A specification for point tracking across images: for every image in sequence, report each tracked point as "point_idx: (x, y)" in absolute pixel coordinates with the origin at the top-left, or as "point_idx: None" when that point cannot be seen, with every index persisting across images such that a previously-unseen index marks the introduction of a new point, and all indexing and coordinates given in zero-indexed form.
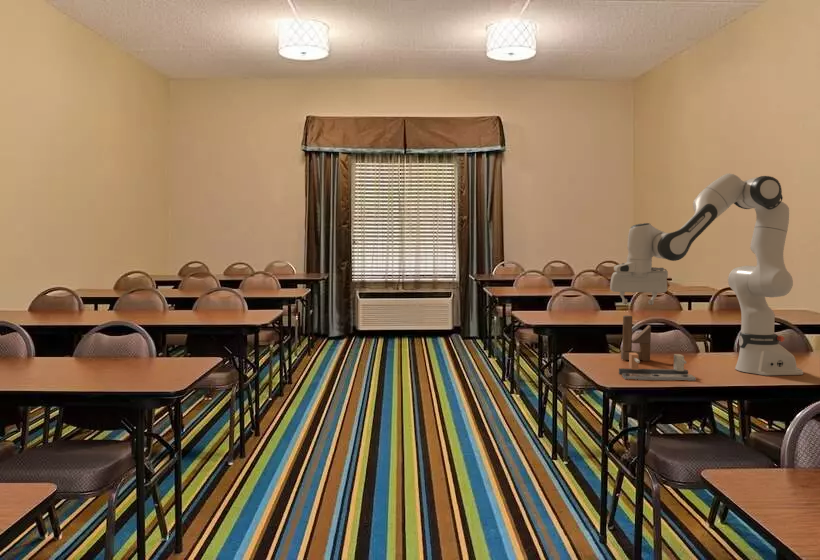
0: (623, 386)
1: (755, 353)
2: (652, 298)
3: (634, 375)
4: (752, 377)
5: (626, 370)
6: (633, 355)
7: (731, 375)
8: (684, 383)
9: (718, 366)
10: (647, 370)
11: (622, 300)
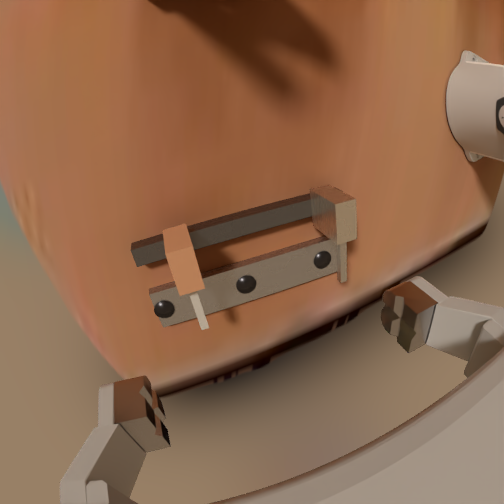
0: (169, 380)
1: (498, 151)
2: (443, 341)
3: (187, 309)
4: (448, 181)
5: (157, 259)
6: (186, 292)
7: (424, 169)
8: (307, 302)
9: (422, 55)
10: (225, 239)
11: (98, 412)
